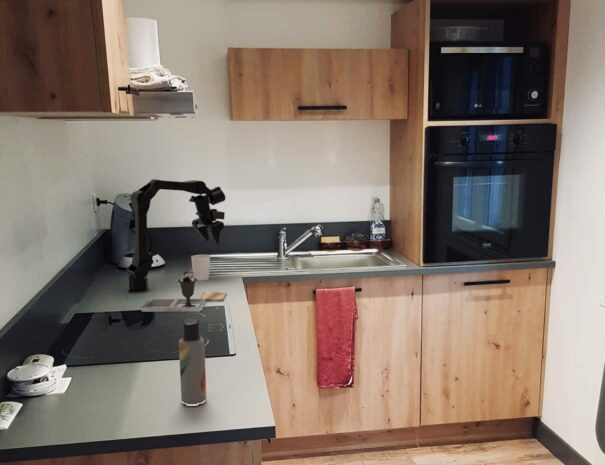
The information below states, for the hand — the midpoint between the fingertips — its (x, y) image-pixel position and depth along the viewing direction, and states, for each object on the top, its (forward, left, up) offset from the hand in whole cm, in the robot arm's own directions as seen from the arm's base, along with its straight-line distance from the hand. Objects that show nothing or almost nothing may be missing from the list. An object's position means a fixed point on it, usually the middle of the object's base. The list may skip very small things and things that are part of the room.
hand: (212, 242), depth 239 cm
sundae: (-2, -44, -16) cm, 46 cm away
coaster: (+5, -33, -15) cm, 37 cm away
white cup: (-5, -4, -16) cm, 17 cm away
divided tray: (-7, -44, -15) cm, 47 cm away
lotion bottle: (+15, -116, -16) cm, 118 cm away
